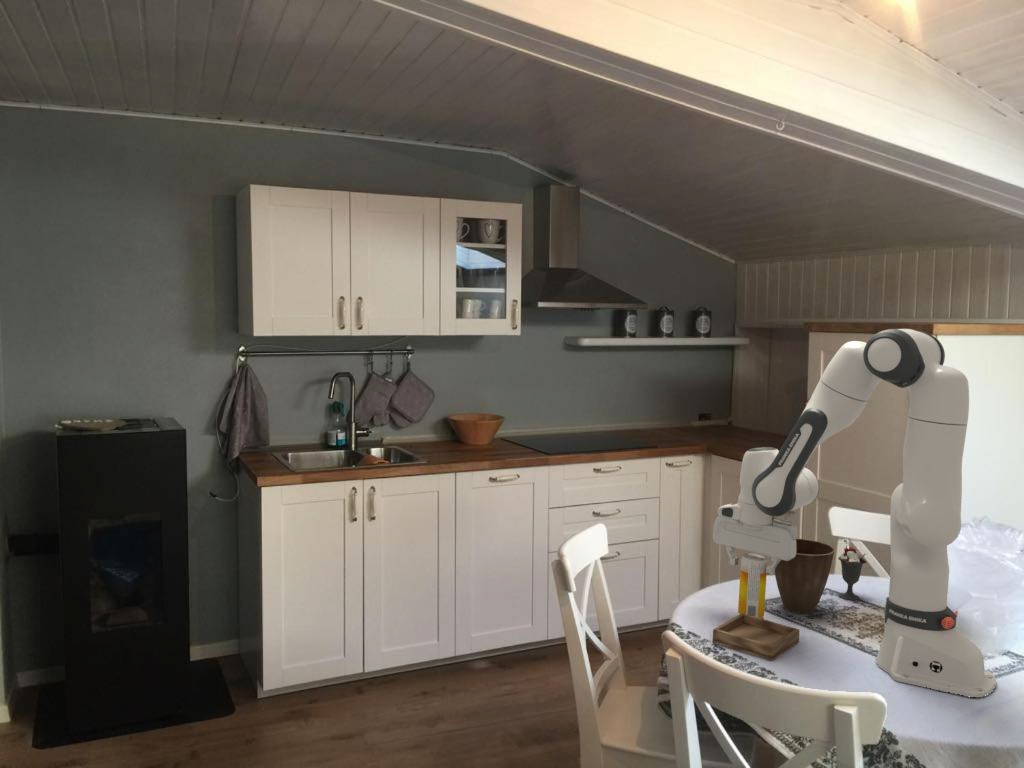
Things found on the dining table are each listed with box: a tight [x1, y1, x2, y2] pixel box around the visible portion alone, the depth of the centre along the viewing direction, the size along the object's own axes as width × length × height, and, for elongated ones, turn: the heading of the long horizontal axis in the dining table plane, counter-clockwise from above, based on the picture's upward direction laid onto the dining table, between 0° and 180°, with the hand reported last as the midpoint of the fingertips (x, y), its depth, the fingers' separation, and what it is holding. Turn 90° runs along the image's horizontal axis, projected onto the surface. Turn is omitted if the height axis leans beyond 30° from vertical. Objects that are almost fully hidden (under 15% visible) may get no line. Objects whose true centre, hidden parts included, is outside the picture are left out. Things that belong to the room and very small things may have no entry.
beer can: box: [737, 552, 768, 619], centre depth 209 cm, size 6×6×15 cm
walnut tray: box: [712, 613, 801, 662], centre depth 193 cm, size 14×14×3 cm
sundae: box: [837, 539, 867, 601], centre depth 225 cm, size 7×7×15 cm
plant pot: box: [774, 538, 835, 615], centre depth 215 cm, size 15×15×16 cm
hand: (751, 569), depth 208 cm, fingers open, 8 cm apart
